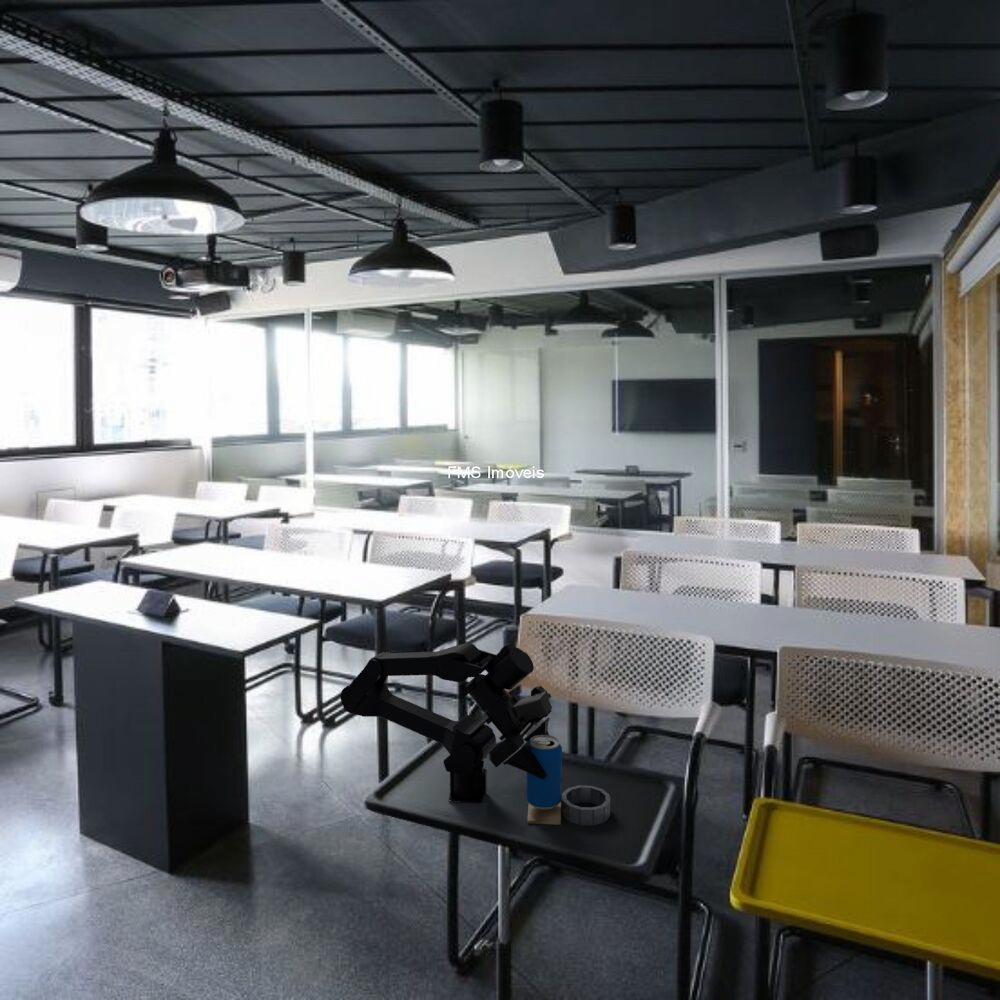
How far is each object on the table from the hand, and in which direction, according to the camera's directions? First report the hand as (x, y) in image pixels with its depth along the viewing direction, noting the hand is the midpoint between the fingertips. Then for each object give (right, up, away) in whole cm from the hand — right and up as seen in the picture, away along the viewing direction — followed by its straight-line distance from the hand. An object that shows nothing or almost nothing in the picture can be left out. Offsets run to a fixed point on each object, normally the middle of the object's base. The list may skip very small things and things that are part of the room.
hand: (551, 769), depth 151 cm
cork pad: (-1, -8, +2) cm, 8 cm away
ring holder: (+6, -8, +1) cm, 11 cm away
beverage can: (-1, -7, +2) cm, 7 cm away
